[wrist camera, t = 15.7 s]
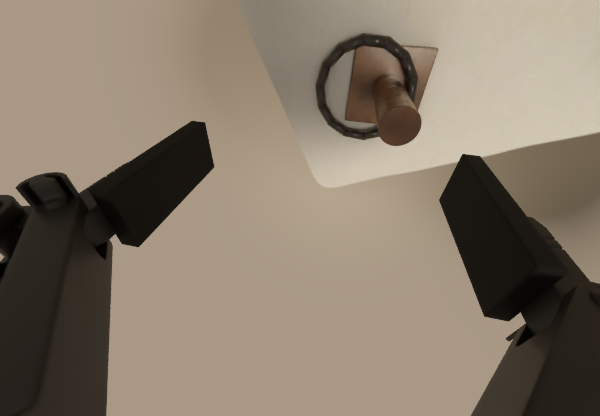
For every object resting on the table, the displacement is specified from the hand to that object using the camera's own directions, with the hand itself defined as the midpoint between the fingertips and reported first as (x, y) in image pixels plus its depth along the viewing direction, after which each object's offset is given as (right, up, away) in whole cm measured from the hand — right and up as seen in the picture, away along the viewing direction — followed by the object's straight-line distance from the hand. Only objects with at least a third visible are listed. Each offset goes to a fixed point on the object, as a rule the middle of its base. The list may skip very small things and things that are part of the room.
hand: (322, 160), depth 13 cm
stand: (+9, +11, +15) cm, 21 cm away
